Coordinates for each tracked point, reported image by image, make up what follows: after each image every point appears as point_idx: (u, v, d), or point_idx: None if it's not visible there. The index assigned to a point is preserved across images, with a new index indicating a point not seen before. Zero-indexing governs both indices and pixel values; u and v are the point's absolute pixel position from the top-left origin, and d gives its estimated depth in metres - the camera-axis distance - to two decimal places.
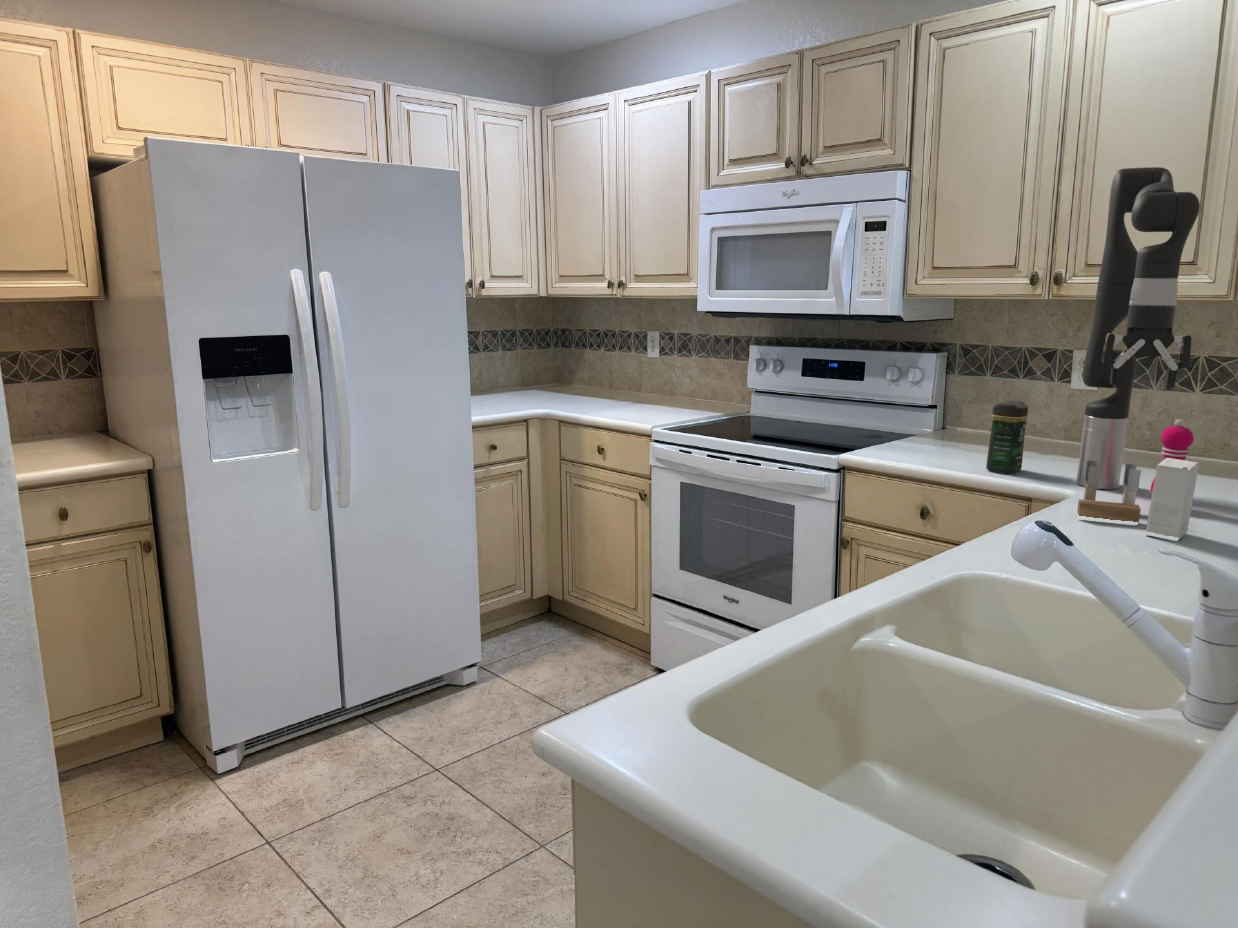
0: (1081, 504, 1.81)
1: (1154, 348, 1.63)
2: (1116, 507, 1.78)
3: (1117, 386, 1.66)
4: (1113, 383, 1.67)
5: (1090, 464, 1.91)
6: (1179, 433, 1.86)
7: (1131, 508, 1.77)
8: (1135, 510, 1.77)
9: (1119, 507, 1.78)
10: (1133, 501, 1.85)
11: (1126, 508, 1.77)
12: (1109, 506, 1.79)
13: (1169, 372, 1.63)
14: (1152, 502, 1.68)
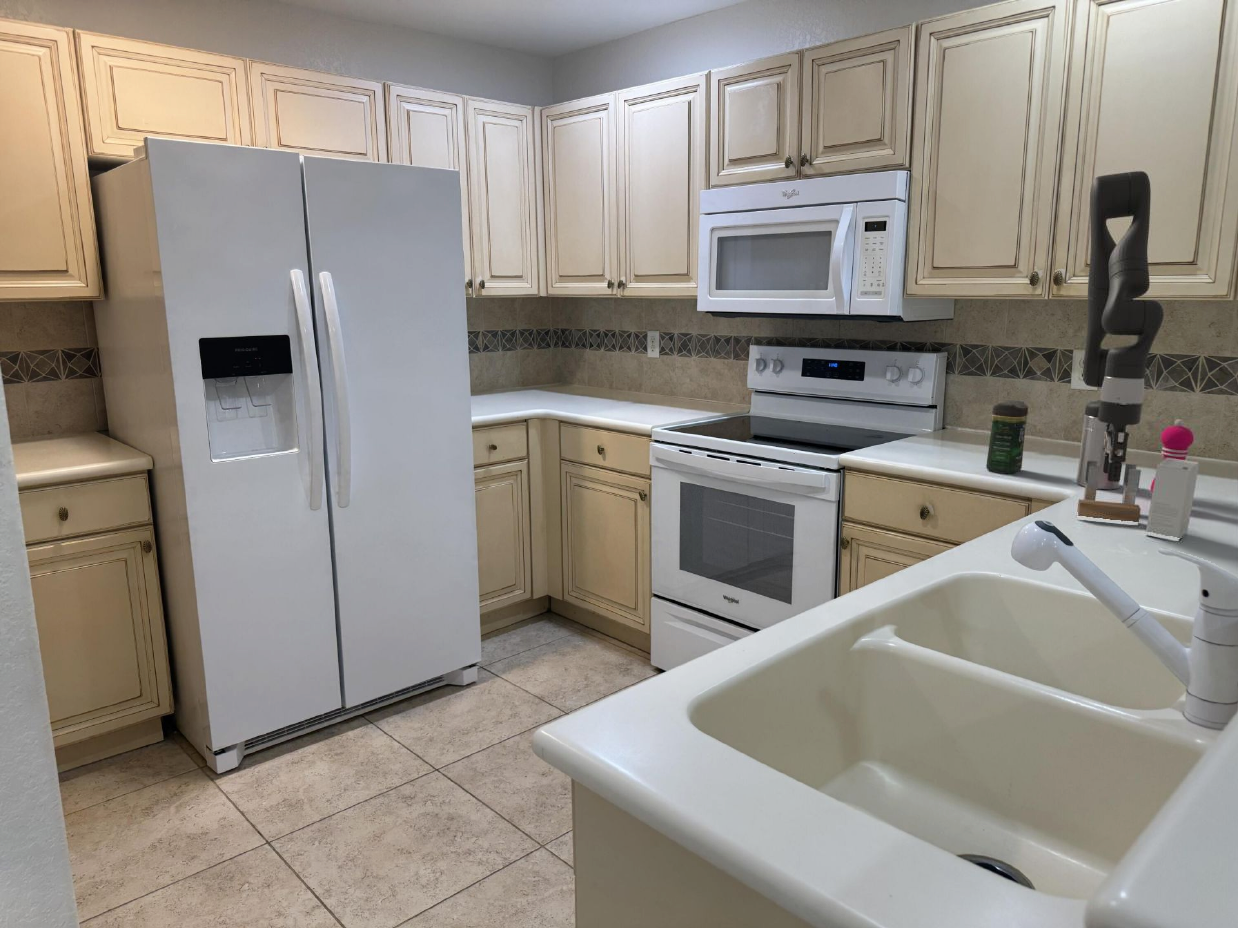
0: (1081, 504, 1.81)
1: None
2: (1116, 507, 1.78)
3: (1119, 479, 1.75)
4: (1118, 478, 1.74)
5: (1090, 464, 1.91)
6: (1179, 433, 1.86)
7: (1131, 508, 1.77)
8: (1135, 510, 1.77)
9: (1119, 507, 1.78)
10: (1133, 501, 1.85)
11: (1126, 508, 1.77)
12: (1109, 506, 1.79)
13: None
14: (1152, 502, 1.68)
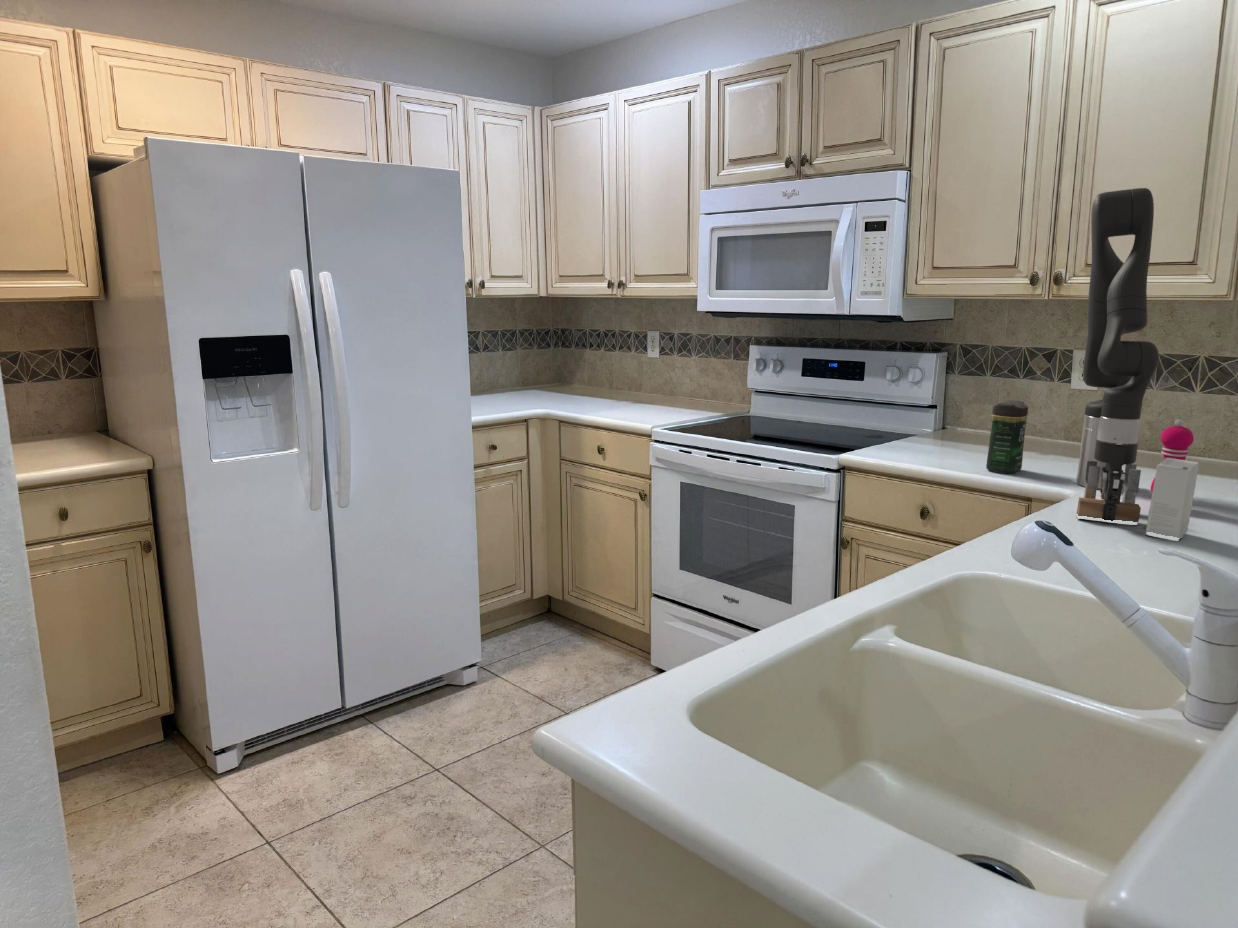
0: (1081, 502, 1.81)
1: None
2: (1116, 506, 1.78)
3: None
4: (1112, 519, 1.78)
5: (1090, 464, 1.91)
6: (1179, 433, 1.86)
7: (1131, 507, 1.77)
8: (1135, 509, 1.77)
9: (1119, 506, 1.78)
10: (1133, 501, 1.85)
11: (1126, 507, 1.77)
12: None
13: None
14: (1152, 502, 1.68)
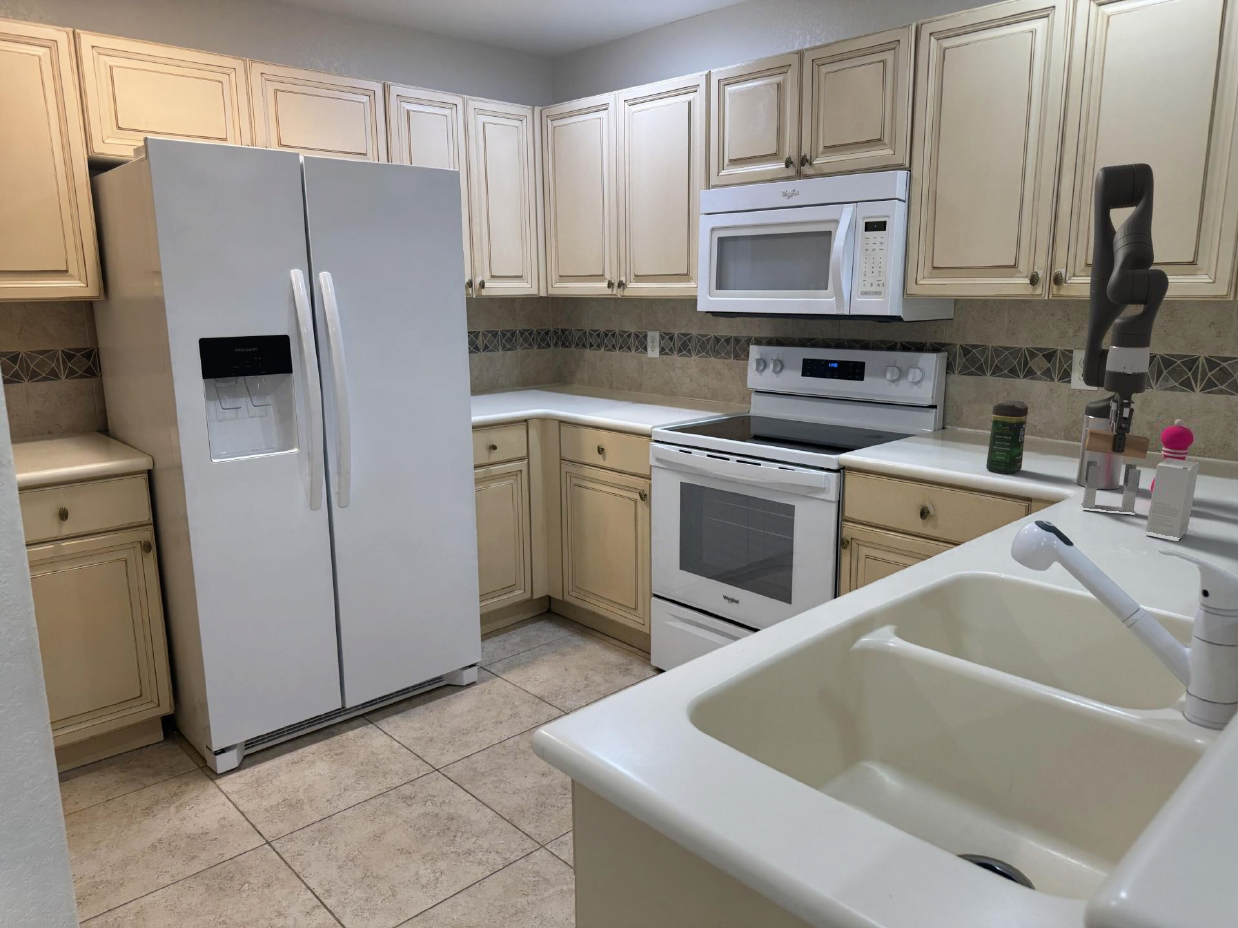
0: (1091, 433, 1.81)
1: None
2: None
3: None
4: (1122, 448, 1.79)
5: (1090, 464, 1.91)
6: (1179, 433, 1.86)
7: (1140, 439, 1.78)
8: (1144, 442, 1.77)
9: (1128, 438, 1.79)
10: (1133, 501, 1.85)
11: (1135, 439, 1.78)
12: None
13: None
14: (1152, 502, 1.68)
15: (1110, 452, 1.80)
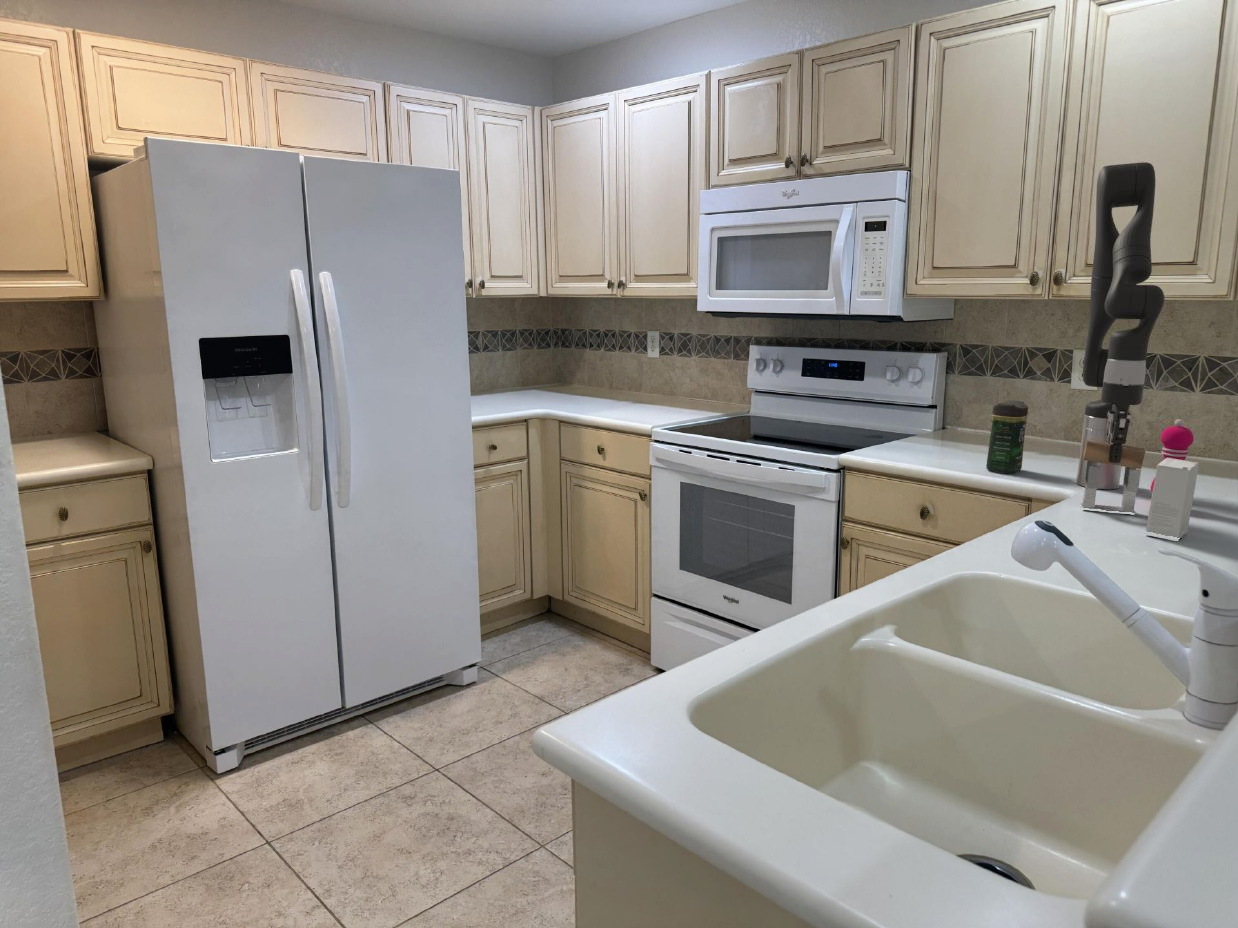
0: (1088, 443, 1.86)
1: None
2: (1122, 448, 1.84)
3: None
4: (1118, 459, 1.83)
5: (1090, 464, 1.91)
6: (1179, 433, 1.86)
7: (1136, 450, 1.83)
8: (1140, 452, 1.82)
9: (1125, 448, 1.83)
10: (1133, 501, 1.85)
11: (1131, 450, 1.83)
12: None
13: None
14: (1152, 502, 1.68)
15: (1107, 462, 1.85)
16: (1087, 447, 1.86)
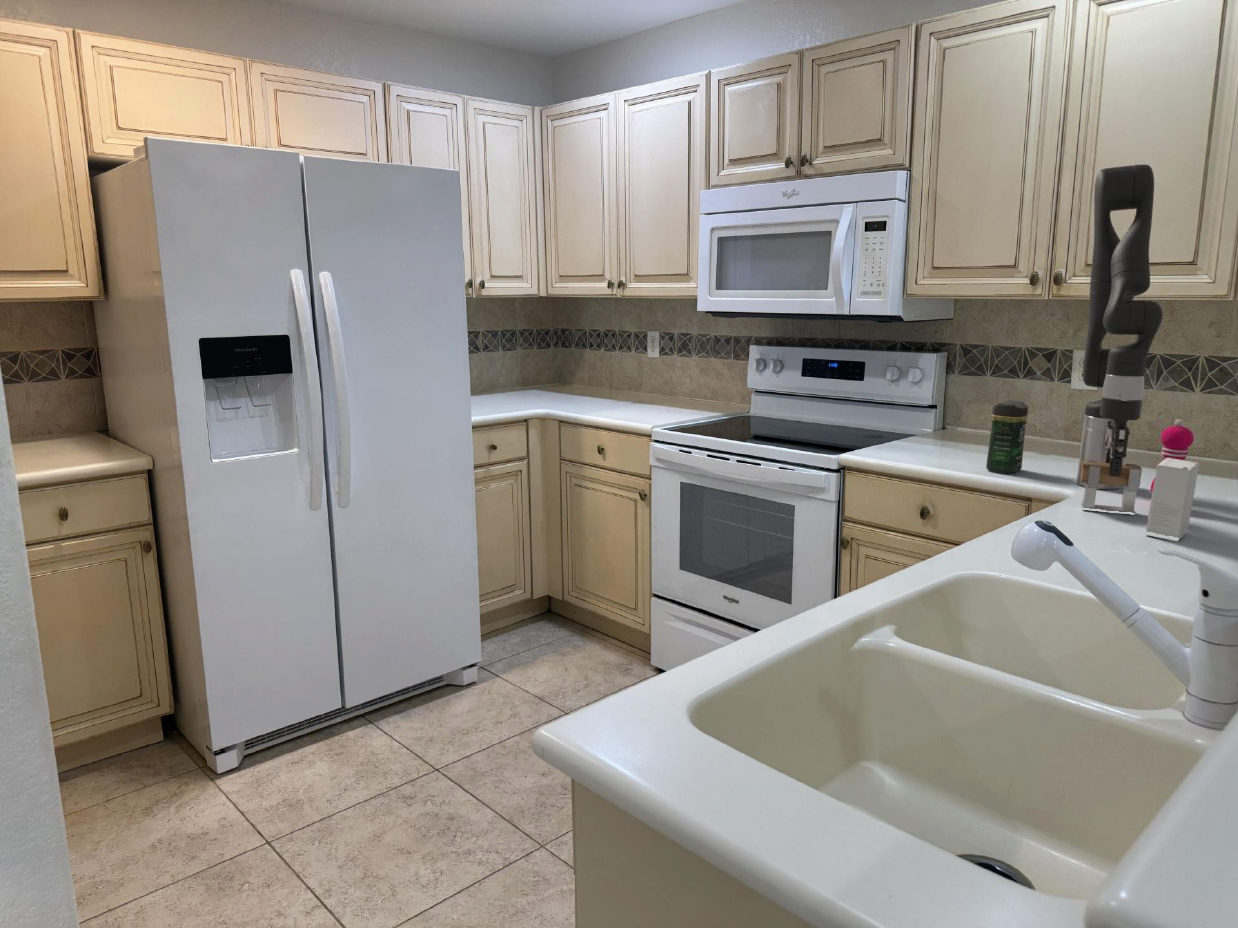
0: (1084, 465, 1.87)
1: None
2: None
3: (1120, 474, 1.83)
4: (1119, 472, 1.82)
5: None
6: (1179, 433, 1.86)
7: (1132, 468, 1.84)
8: None
9: None
10: (1133, 501, 1.85)
11: (1128, 469, 1.84)
12: None
13: None
14: (1152, 502, 1.68)
15: (1105, 482, 1.86)
16: (1083, 469, 1.87)
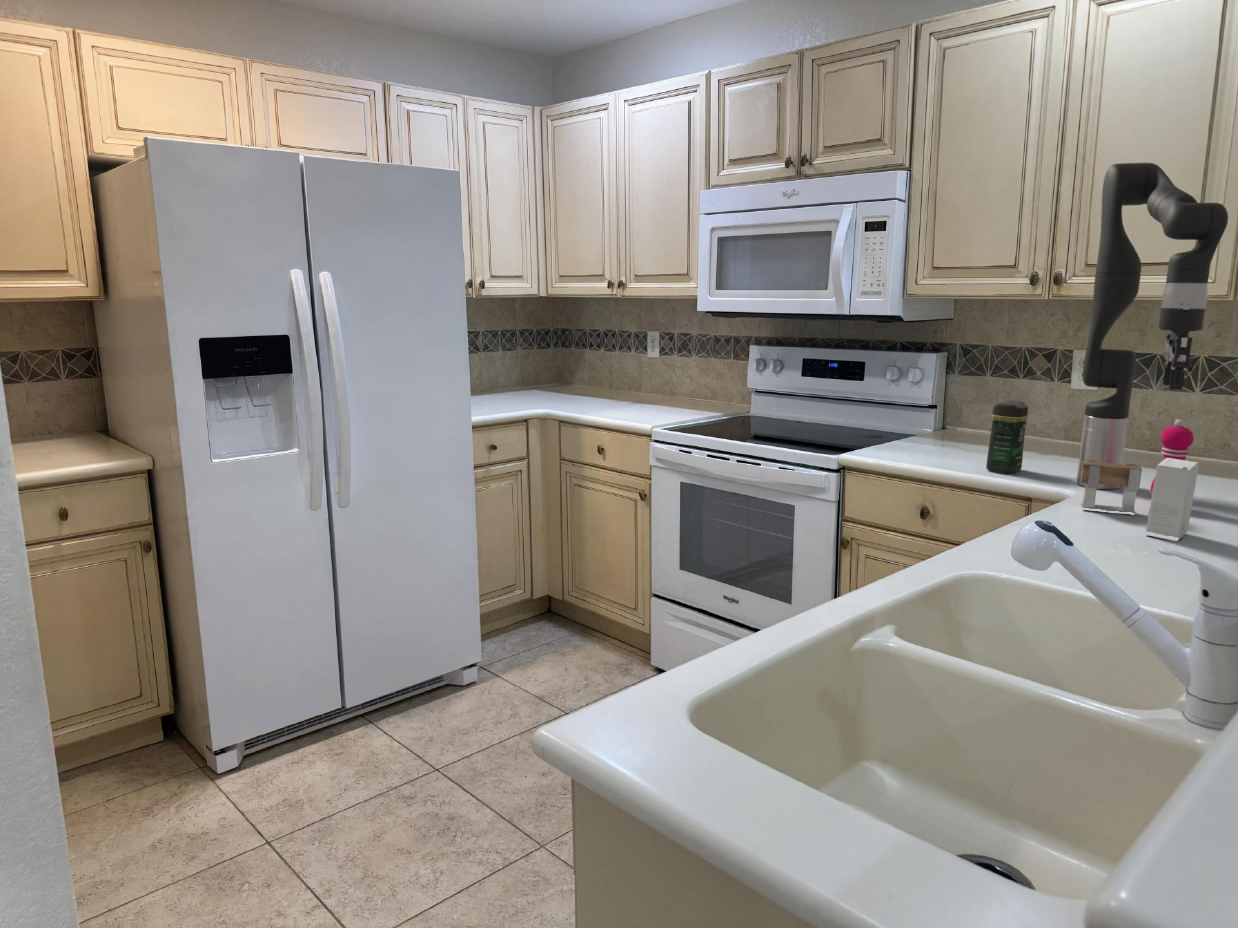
0: (1084, 465, 1.87)
1: None
2: (1118, 468, 1.85)
3: (1181, 387, 1.72)
4: (1180, 385, 1.71)
5: None
6: (1179, 433, 1.86)
7: (1132, 468, 1.84)
8: None
9: (1121, 468, 1.84)
10: (1133, 501, 1.85)
11: (1128, 469, 1.84)
12: (1111, 467, 1.85)
13: None
14: (1152, 502, 1.68)
15: (1105, 482, 1.86)
16: (1083, 469, 1.87)
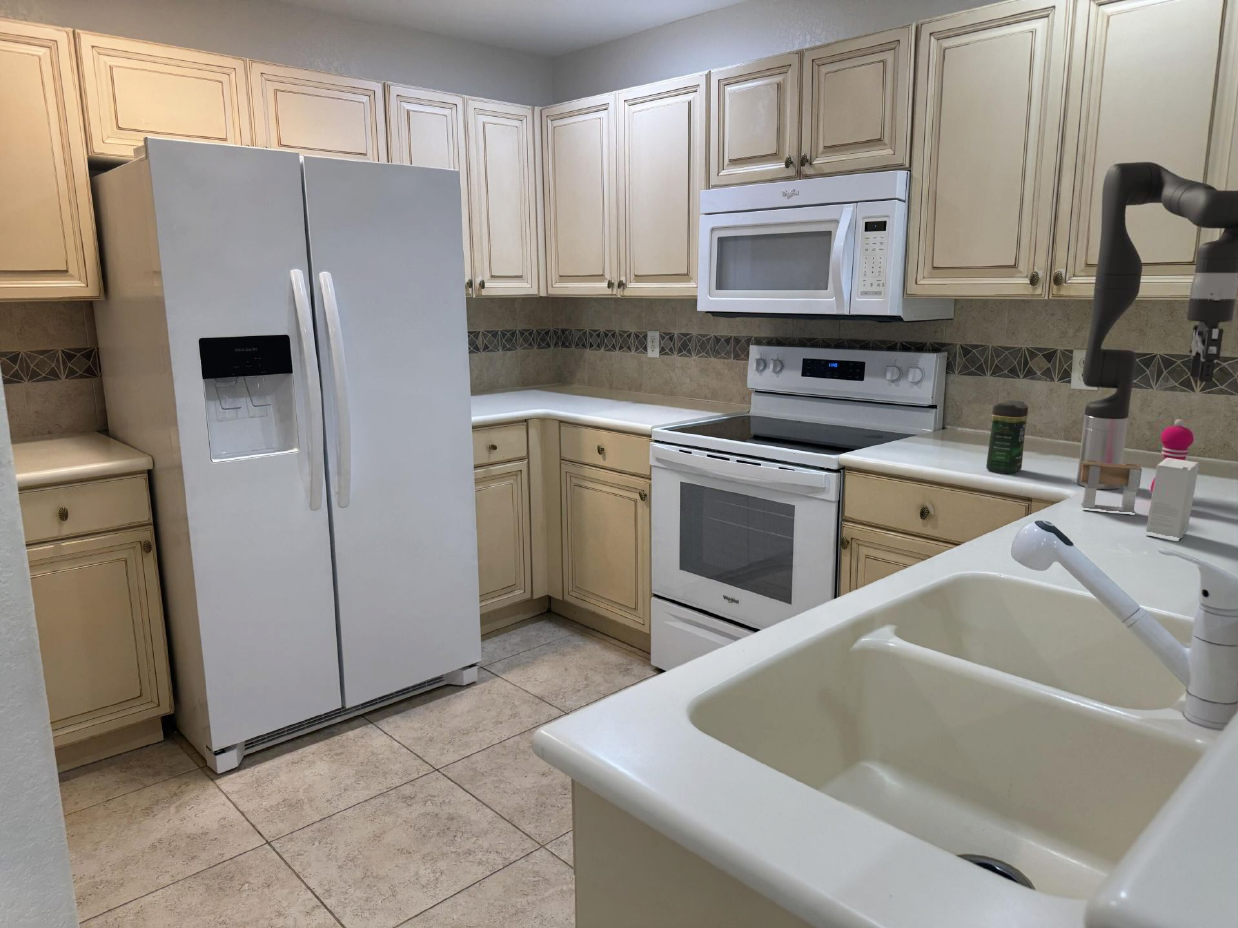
0: (1084, 465, 1.87)
1: None
2: (1118, 468, 1.85)
3: None
4: None
5: None
6: (1179, 433, 1.86)
7: (1132, 468, 1.84)
8: None
9: (1121, 468, 1.84)
10: (1133, 501, 1.85)
11: (1128, 469, 1.84)
12: (1111, 467, 1.85)
13: None
14: (1152, 502, 1.68)
15: (1105, 482, 1.86)
16: (1083, 469, 1.87)
